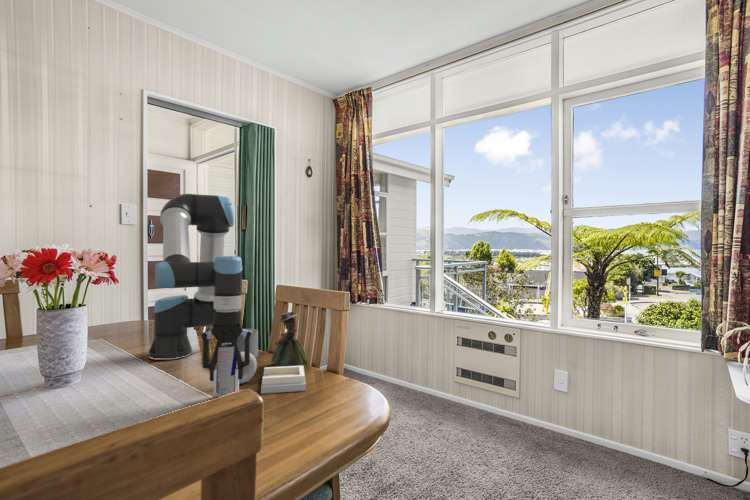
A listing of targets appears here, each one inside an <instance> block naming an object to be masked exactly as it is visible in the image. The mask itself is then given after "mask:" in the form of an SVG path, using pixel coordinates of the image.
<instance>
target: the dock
mask: <svg viewBox="0 0 750 500" xmlns="http://www.w3.org/2000/svg"><path fill="white" fill-rule="evenodd" d="M261 378H262V380H261V386H260V394H274V393H275V394H276V393H289V392H290V393H291V392H292V393H293V392H305V391H306V388H307V387H306V386H307V385H306V384H307V383H306V375H305V365H304V366H303V365H302V366H282V367H275V366H269V367H268V366H267V367H264V368H263V376H262V377H261Z"/></svg>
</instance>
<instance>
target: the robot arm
mask: <svg viewBox="0 0 750 500" xmlns="http://www.w3.org/2000/svg"><path fill="white" fill-rule="evenodd" d="M159 217H160V218H159V219H160V220H159V221H160V225H162V227H163V230H162V231H163V232H162V233H163V239H162V240H163V242H162V243H163V244H162V245H163V246H162V249H163V250H162V261H161V262H160V261H159V262H156V264H155V269H154V270H155V271H154V273H155V274H154V275H155V278H154V282H155V283H154V284H155V286H156V287H157V288H159V289H161V288H162V289H181V288H182V289H183V288H198V289H197V291H196V292H195V293H194V294H193V298H189V296H188V295H187V294H182V295H181V294H179V295H171V296H167V297H163V298H158V299H157V300H156V301H155V303H154V309H153V314H154V317H153V318H154V320H153V321H154V322H153V339H152V341H151V344H150V348H149V349H148V354H147V355H149V356H150V357H153V358H176V357H182V356H186V355H188V354H190V353H191V352H192V353H193V351H192V346H191V345H192V344H191V343H190V339H189V336H188V329H190V328H192V329H193V328H202V327H203V328H204V327H211V330H208V331H203V332H202V333H201V335H200V336H201V339H202V341H203V345H202V348H203V350H202V368H203V369H208V370H209V380H210V382H213V394H216V395H217V367H216V366H217V357H218V349H219V348H218V347H221V345H222V344H224V343H229V344H232V347H234V346H235V347H234V349H235V358H236V361H237V365H238V367H236V369H235V391H238V392H239V389H240V384H239V379H242V377H243V372H244V367H245V368H246V366H248V365H249V363H250V336H251V334H252V331H251V330H249V331H248V330H244V329H245V328H243V326H242V311H241V309H242V298H243V297H242V296H243V295H242V287H243V286H242V283H243V281H242V280H243V279H242V278H243V260H242V257H241V256H228V255H227V256H226V255H225V256H224V250H225V249H224V248H225V235H227V234H228V233H229V231H230V228H232V227H234V223H235V218H234V217H235V215H234V208H233V203H232V201H231V199H230V198H229V197H227V196H222V195H221V196H220V195H213V194H197V193H195V194H193V193H183V194H180V195H176V196H175V197H172V198H171V199H169V201H167V202H166V203H165V204H164V205H163V207H162V208H161V211H160V216H159ZM190 226H196V231H197V232H198V233H199V234H200V242H199V244H200V245H199V247H200V248H199V261H191V252H190V250H191V249H190V238H189V236H190V233H189V227H190ZM241 333H242V334H243V337H244V338H245V361H244V362H243V361H242V357H241V353H240V349H239V345H238V340H237V338H238V337H239V336H240V334H241ZM212 336H213V338H215V340H216V344H215V347H214V351H213V355H212V358H211V362H210V344H211V343H210V341H211V340H210V339H211V338H212Z"/></svg>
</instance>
